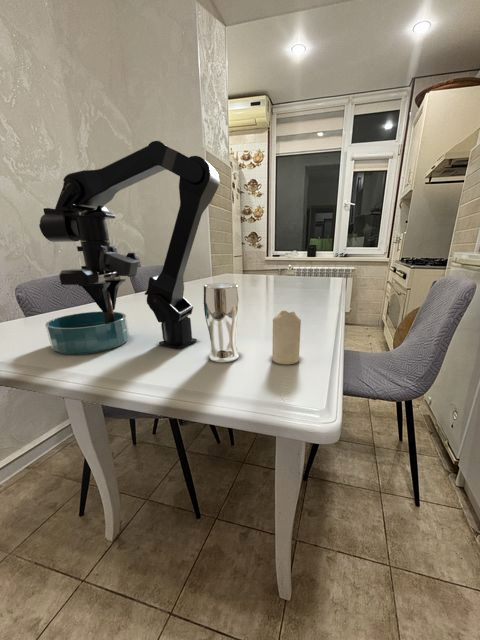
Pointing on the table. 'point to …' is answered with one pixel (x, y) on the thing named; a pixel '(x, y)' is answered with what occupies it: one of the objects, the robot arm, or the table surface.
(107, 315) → the brown rod
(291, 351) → the candle
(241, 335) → the table surface
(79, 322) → the bowl
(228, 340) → the beer glass
